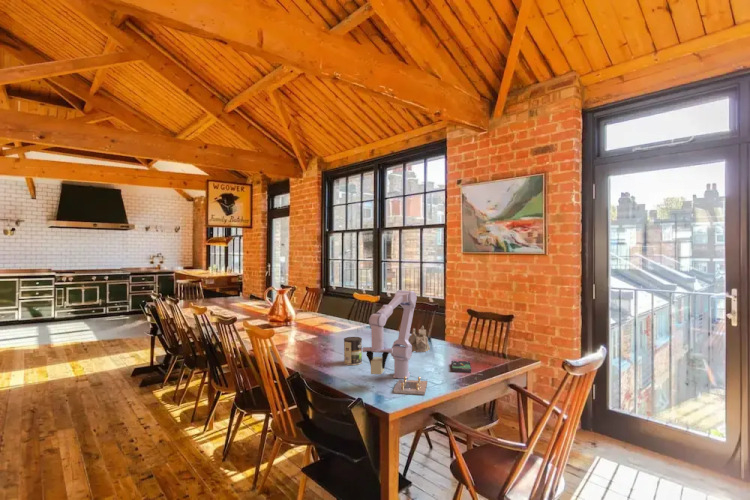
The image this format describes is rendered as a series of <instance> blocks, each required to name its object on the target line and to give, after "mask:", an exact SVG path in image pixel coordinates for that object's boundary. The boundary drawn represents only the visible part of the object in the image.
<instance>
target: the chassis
mask: <svg viewBox="0 0 750 500" xmlns="http://www.w3.org/2000/svg"><path fill="white" fill-rule="evenodd" d="M427 386H428V380H421V376H418V377H417V380H414V379H413V380H411V379H406V376H404V379H398V380H397V382H396V384H395V385H394V388H393V394H406V395H419V396H425V395H426V391H427Z"/></svg>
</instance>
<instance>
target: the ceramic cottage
mask: <svg viewBox="0 0 750 500" xmlns="http://www.w3.org/2000/svg"><path fill="white" fill-rule="evenodd" d="M408 341H409V343H410V344H411V345H412V352H414V351H416V352H415V353H426V351H427V352H429V351H430V350H431V348H430V345H429V343H428V342H429V339H428V337H427V329H425V327H424V325H421V327H420V329H419V328H418V334H416V328H412V333H411V335H409V339H408ZM428 350H429V351H428Z"/></svg>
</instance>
